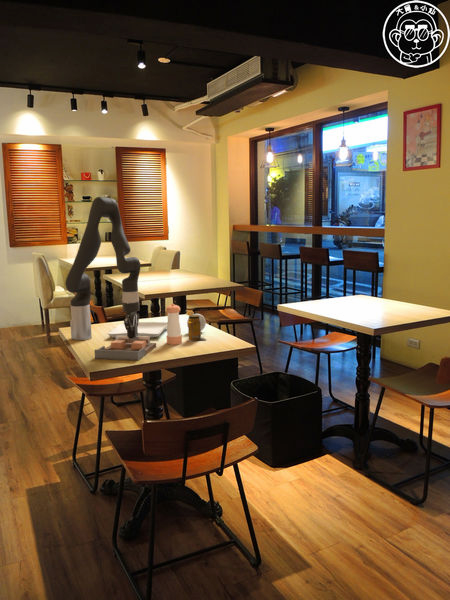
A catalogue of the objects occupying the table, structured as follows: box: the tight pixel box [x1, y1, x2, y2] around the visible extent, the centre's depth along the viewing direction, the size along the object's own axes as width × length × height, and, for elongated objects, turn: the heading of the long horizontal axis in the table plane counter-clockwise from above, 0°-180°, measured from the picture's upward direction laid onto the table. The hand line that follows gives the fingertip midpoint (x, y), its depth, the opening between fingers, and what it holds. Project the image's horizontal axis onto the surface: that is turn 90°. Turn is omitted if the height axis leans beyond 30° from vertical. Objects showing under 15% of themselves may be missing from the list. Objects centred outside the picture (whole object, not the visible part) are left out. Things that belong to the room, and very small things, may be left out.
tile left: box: [110, 339, 126, 348], centre depth 240 cm, size 5×5×2 cm
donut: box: [186, 313, 207, 332], centre depth 274 cm, size 10×3×10 cm, turn 107°
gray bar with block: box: [115, 325, 151, 344], centre depth 243 cm, size 16×3×8 cm, turn 78°
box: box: [94, 345, 146, 362], centre depth 230 cm, size 20×9×4 cm, turn 78°
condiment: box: [186, 314, 207, 342], centre depth 258 cm, size 7×8×12 cm
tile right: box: [132, 341, 146, 349], centre depth 238 cm, size 5×5×2 cm
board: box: [105, 342, 157, 356], centre depth 241 cm, size 20×14×2 cm
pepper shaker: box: [165, 303, 183, 346], centre depth 252 cm, size 7×7×19 cm
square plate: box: [107, 321, 168, 339], centre depth 275 cm, size 27×27×4 cm
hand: (132, 337), depth 244 cm, fingers closed on gray bar with block, 3 cm apart
